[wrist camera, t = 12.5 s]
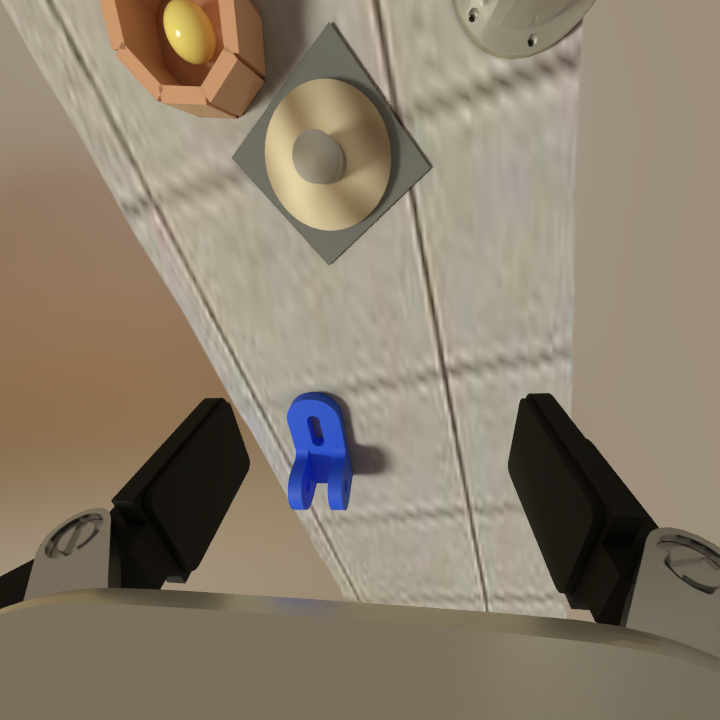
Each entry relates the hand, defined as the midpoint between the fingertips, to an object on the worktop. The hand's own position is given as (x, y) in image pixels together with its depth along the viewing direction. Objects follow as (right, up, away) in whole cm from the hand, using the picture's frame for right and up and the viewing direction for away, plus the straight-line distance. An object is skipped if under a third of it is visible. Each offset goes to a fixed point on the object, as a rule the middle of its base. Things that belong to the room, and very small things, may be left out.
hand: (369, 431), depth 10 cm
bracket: (-7, -10, +42) cm, 44 cm away
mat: (-4, +23, +23) cm, 33 cm away
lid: (-4, +23, +23) cm, 33 cm away
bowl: (-15, +32, +19) cm, 40 cm away
